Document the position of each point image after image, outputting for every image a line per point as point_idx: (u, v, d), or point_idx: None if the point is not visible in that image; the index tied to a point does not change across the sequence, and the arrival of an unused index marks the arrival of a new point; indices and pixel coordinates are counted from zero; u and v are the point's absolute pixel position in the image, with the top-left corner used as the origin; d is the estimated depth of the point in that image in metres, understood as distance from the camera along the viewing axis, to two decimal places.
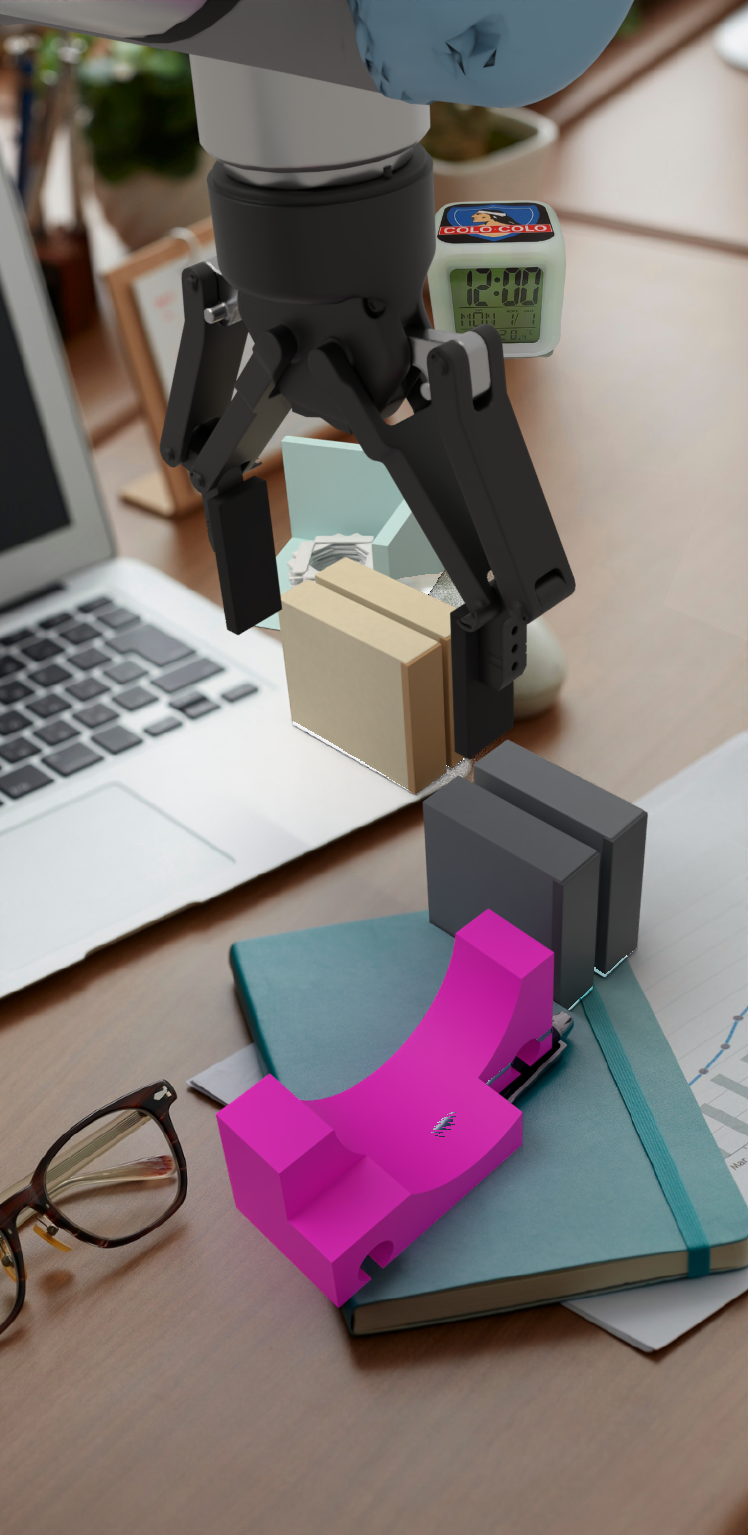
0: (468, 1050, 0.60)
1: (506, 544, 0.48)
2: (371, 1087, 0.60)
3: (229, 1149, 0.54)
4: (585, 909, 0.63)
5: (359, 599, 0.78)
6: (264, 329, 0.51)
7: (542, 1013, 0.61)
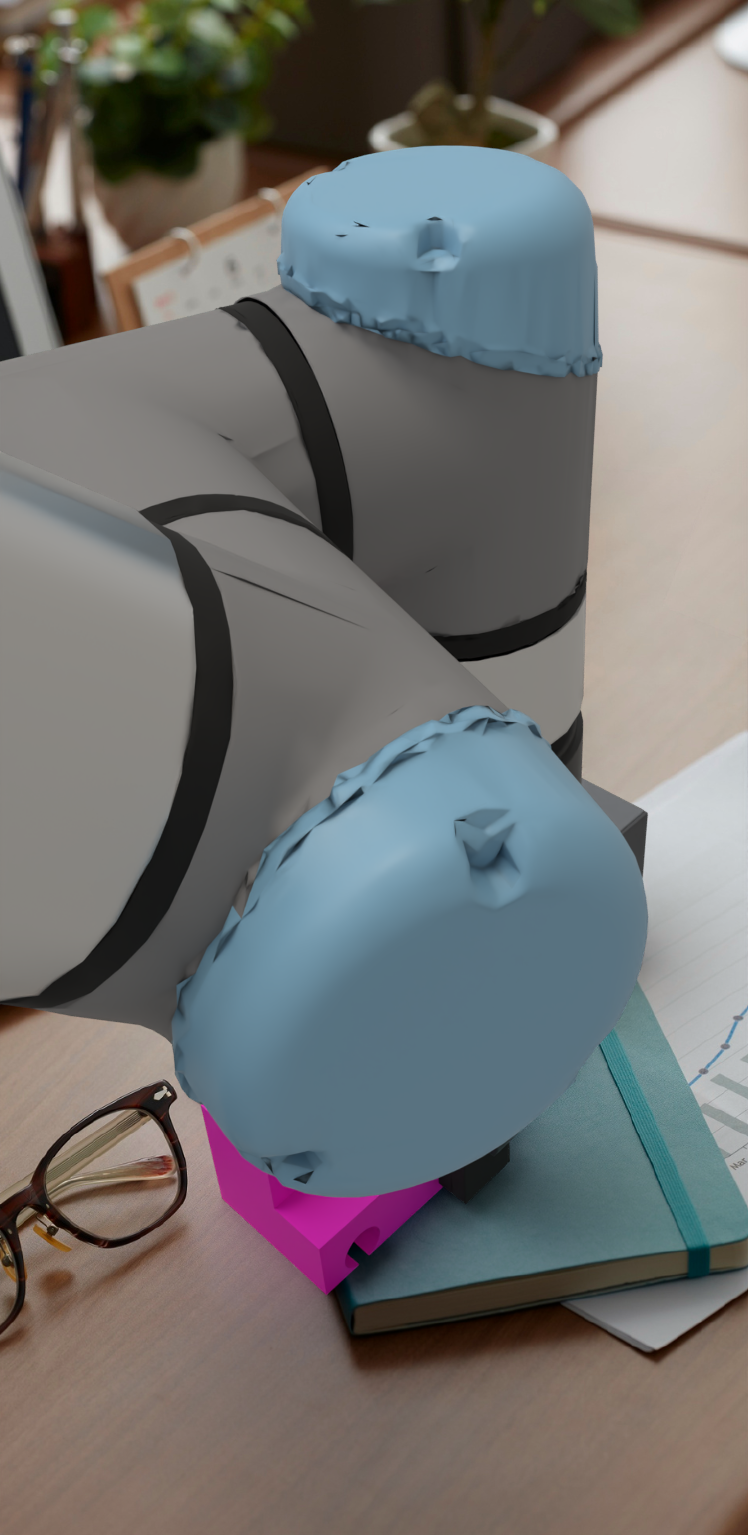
0: None
1: None
2: None
3: (214, 1139, 0.55)
4: None
5: None
6: None
7: None
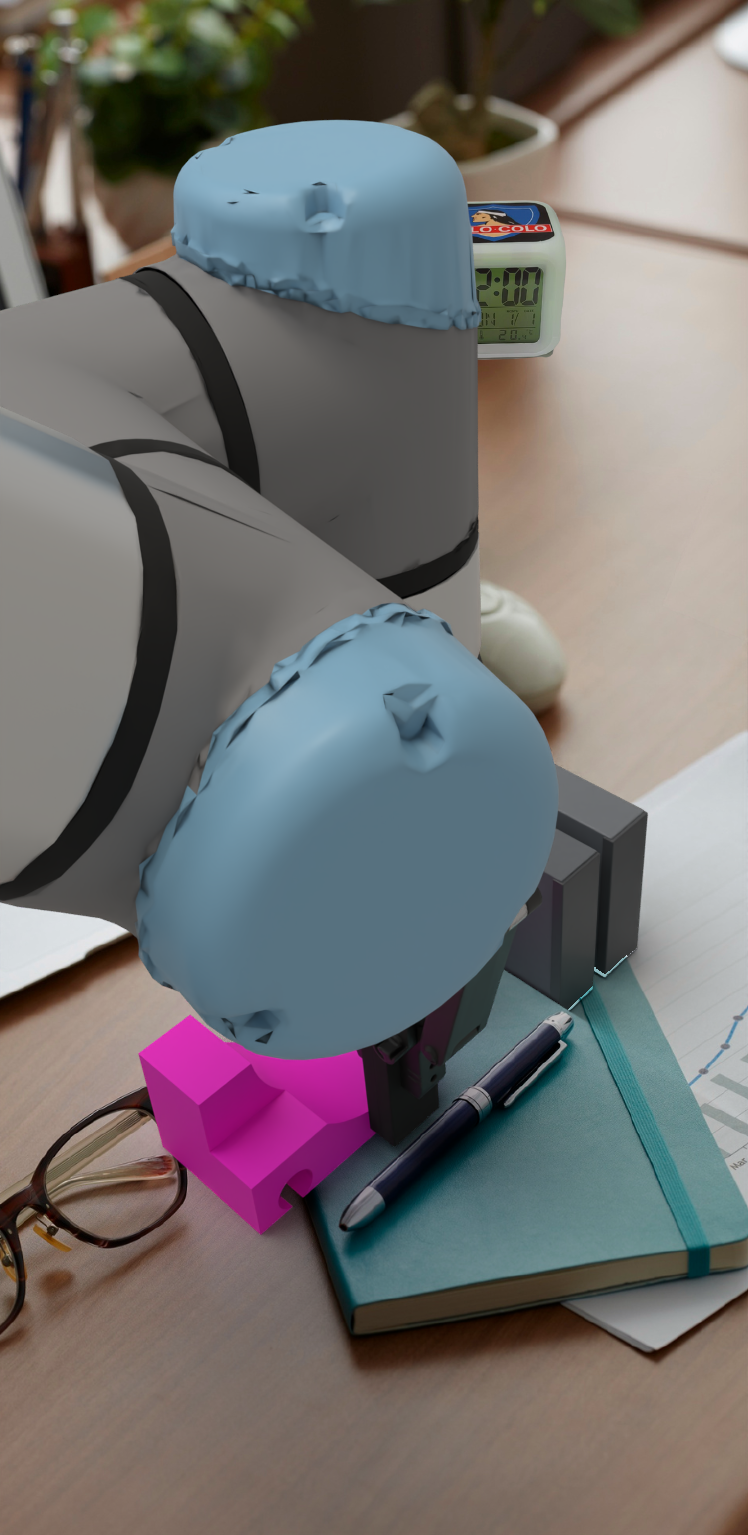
0: None
1: (451, 1030, 0.50)
2: None
3: (153, 1087, 0.57)
4: (585, 909, 0.63)
5: None
6: None
7: None
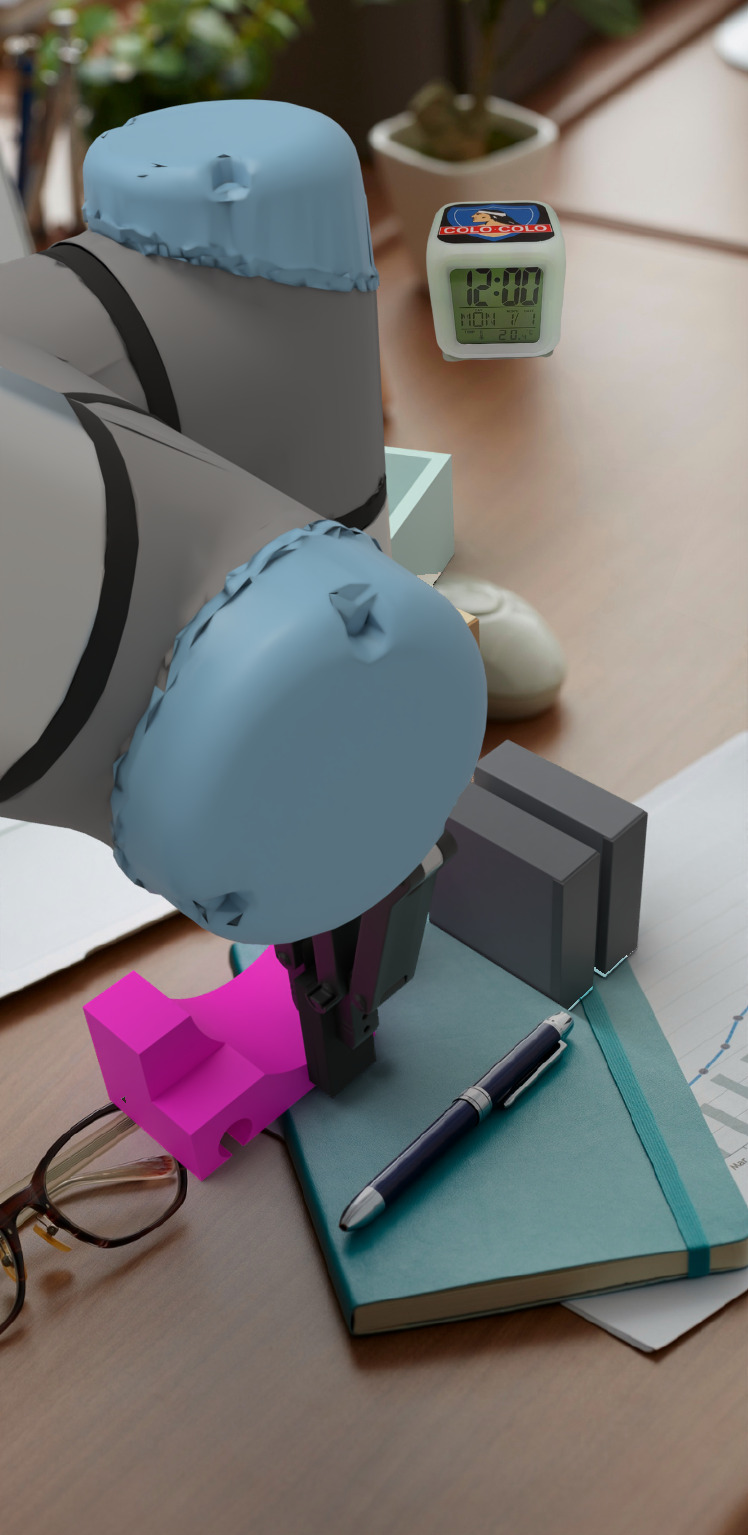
0: None
1: (377, 977, 0.52)
2: (235, 988, 0.65)
3: (97, 1039, 0.59)
4: (585, 909, 0.63)
5: None
6: None
7: None
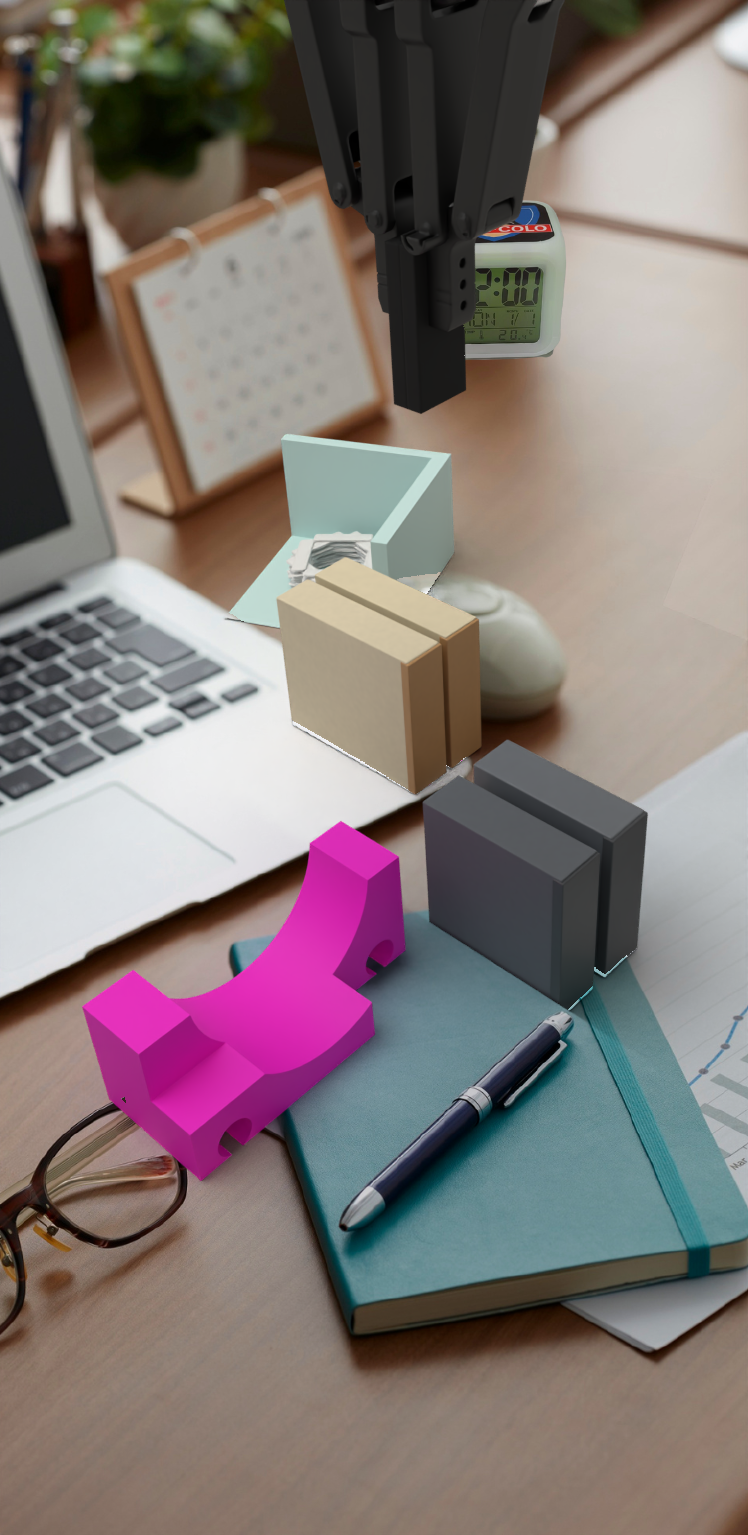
0: (324, 950, 0.65)
1: (487, 164, 0.48)
2: (235, 987, 0.65)
3: (97, 1039, 0.59)
4: (585, 909, 0.63)
5: (359, 599, 0.78)
6: None
7: (392, 915, 0.66)
